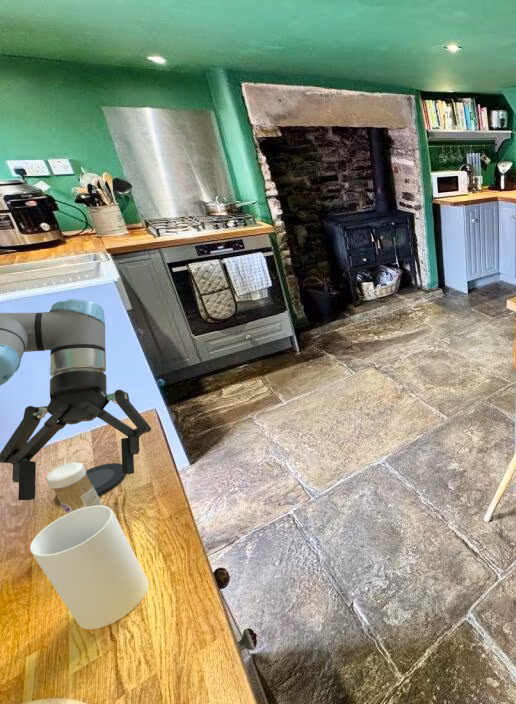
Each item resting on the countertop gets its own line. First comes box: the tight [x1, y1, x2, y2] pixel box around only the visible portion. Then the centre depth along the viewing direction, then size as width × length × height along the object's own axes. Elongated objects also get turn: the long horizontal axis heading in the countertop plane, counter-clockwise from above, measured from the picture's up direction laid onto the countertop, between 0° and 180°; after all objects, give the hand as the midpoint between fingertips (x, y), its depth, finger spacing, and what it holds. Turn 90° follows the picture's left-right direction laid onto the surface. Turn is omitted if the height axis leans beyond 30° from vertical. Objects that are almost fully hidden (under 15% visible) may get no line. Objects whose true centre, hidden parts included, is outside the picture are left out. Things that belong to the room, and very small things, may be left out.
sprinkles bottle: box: [45, 461, 104, 515], centre depth 72 cm, size 5×5×13 cm
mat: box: [86, 462, 127, 497], centre depth 84 cm, size 10×10×1 cm
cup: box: [29, 505, 150, 631], centre depth 60 cm, size 8×8×16 cm
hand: (79, 486), depth 73 cm, fingers open, 13 cm apart
